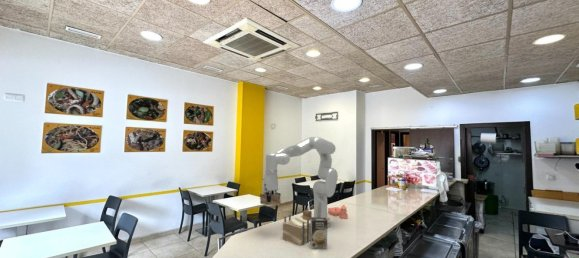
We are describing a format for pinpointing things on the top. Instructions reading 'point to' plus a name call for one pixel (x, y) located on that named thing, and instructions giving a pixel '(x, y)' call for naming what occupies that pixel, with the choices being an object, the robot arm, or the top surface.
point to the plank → (274, 199)
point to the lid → (302, 219)
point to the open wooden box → (296, 233)
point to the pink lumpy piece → (339, 212)
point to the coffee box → (318, 233)
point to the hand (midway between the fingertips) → (270, 201)
